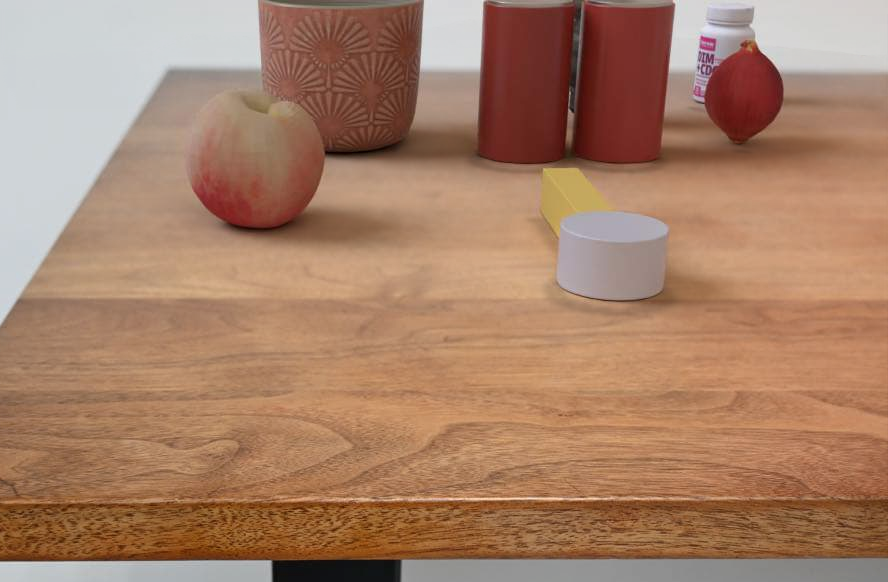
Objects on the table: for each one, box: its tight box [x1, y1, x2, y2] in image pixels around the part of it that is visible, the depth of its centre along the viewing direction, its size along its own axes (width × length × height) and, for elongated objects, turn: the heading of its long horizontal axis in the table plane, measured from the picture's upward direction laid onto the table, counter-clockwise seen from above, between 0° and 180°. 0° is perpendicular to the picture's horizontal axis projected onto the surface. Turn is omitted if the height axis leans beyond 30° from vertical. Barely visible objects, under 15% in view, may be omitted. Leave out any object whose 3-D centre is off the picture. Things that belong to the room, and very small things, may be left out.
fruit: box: [184, 87, 326, 229], centre depth 75 cm, size 8×8×8 cm
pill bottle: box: [692, 2, 756, 104], centre depth 112 cm, size 5×5×8 cm
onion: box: [704, 39, 785, 145], centre depth 96 cm, size 6×6×8 cm
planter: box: [257, 0, 425, 153], centre depth 95 cm, size 12×12×11 cm
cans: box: [476, 0, 676, 164], centre depth 92 cm, size 14×7×11 cm, turn 92°
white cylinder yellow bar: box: [540, 167, 670, 302], centre depth 71 cm, size 17×6×3 cm, turn 3°
